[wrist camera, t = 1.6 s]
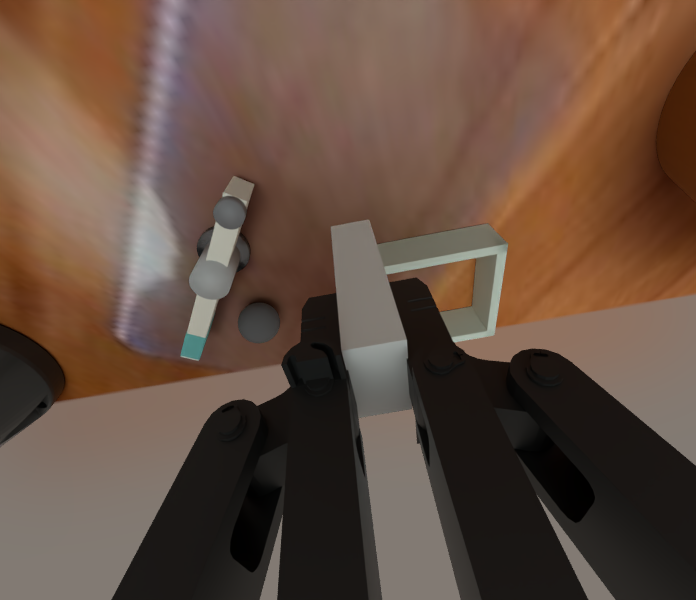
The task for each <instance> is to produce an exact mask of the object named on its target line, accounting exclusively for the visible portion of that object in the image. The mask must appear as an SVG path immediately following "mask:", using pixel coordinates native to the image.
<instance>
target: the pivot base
mask: <svg viewBox="0 0 696 600" xmlns="http://www.w3.org/2000/svg"><path fill="white" fill-rule="evenodd" d="M213 231H214V227H211V228H209V229H207V230H206V231H205V232H204V233H203V234H202V235H201V237H200V239H199V241H198V243H197V252H198V255H199V257H200V256H201V254H202V252H203V250H204V248H205V247H206V245H207V243H209V242H210V241H211V238H212V235H213ZM236 246H237V248H238V249H239V251H240V256H241V257H240V261H239V264H238V267H237V270H236V272H238V271H240V270H242V269H243V268H244V267H245V266H246V265H247V263H248V260H249V257H250V246H249V243H248V241H247V240H246V238H245V237H244V236H243V235H242V234H241V233H239V236H238V240H237V243H236Z"/></svg>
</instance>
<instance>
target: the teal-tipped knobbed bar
mask: <svg viewBox="0 0 696 600" xmlns="http://www.w3.org/2000/svg"><path fill="white" fill-rule="evenodd" d="M254 185H255V184H253V183H250V182H248V181H245V180H243V179H241V178H238V177H236V176H233V178H232V179H231V181H230V182H229V184H228V186H227V187H226V189H225V191H224V192H223V196H222V198H221V199H220V200H219V201H218V203H217V204H216V206H215V208H214V211H213V215H214V218H215V220H216V223H215V227H214V231H213V235H212V238H211V241H210V242H209V243H207V245H206V247H205V248H204V250H203V252H202V254H201V256H200V258H199V260H198V261H197V263H196V265H195V267H194V269H193V271H192V273H191V274H190V277H189V285H190V287H191V289H192V290H193V291H194V292H195V293H196V294H197V296H196V300H195V304H194V308H193V311H192V315H191V319H190V323H189V327H188V330H187V333H186V336H185V339H184V343H183V347H182V351H181V355H180V356H181V357H184V358H188V359H192V360H197V361H199V360H200V357H201V354H202V351H203V349H204V346H205V343H206V340H207V338H208V335H209V332H210V329H211V325H212V322H213V319H214V316H215V311H216V307H217V304H218V301H219V299H221V298H223V297H225V296H226V295H227V294H228V293H229V291H230V288H231V285H232V282H233V279H234V276H235V273H236V270H237V267H238V264H239V261H240V257H241V256H240V251H239V249H238V248H237V246H236V243H237V240H238V236H239V233H240V230H241V227H242V224H243V222H244V220H245V217H246V214H247V207H248V204H249V201H250V198H251V194H252V191H253V188H254Z"/></svg>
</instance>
